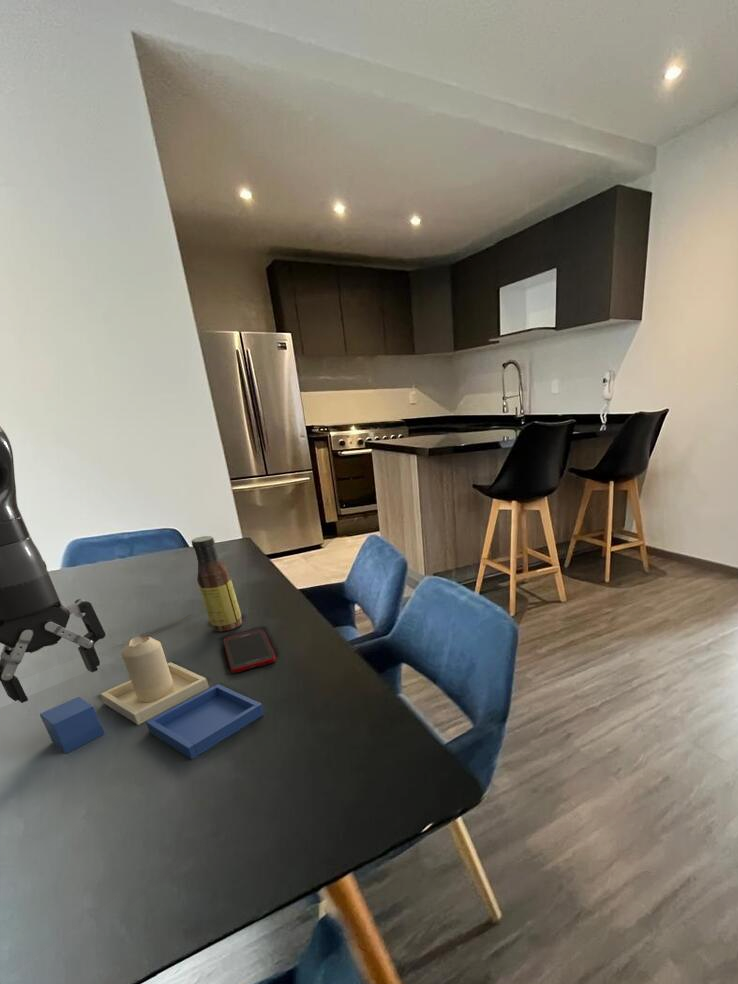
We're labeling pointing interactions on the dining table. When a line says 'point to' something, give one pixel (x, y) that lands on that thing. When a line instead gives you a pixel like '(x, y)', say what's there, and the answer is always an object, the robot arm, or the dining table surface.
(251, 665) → the cell phone
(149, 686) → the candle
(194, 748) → the blue tray
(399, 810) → the dining table surface
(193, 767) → the dining table surface
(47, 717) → the blue block
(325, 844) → the dining table surface
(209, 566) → the sauce bottle
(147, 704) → the ivory tray
